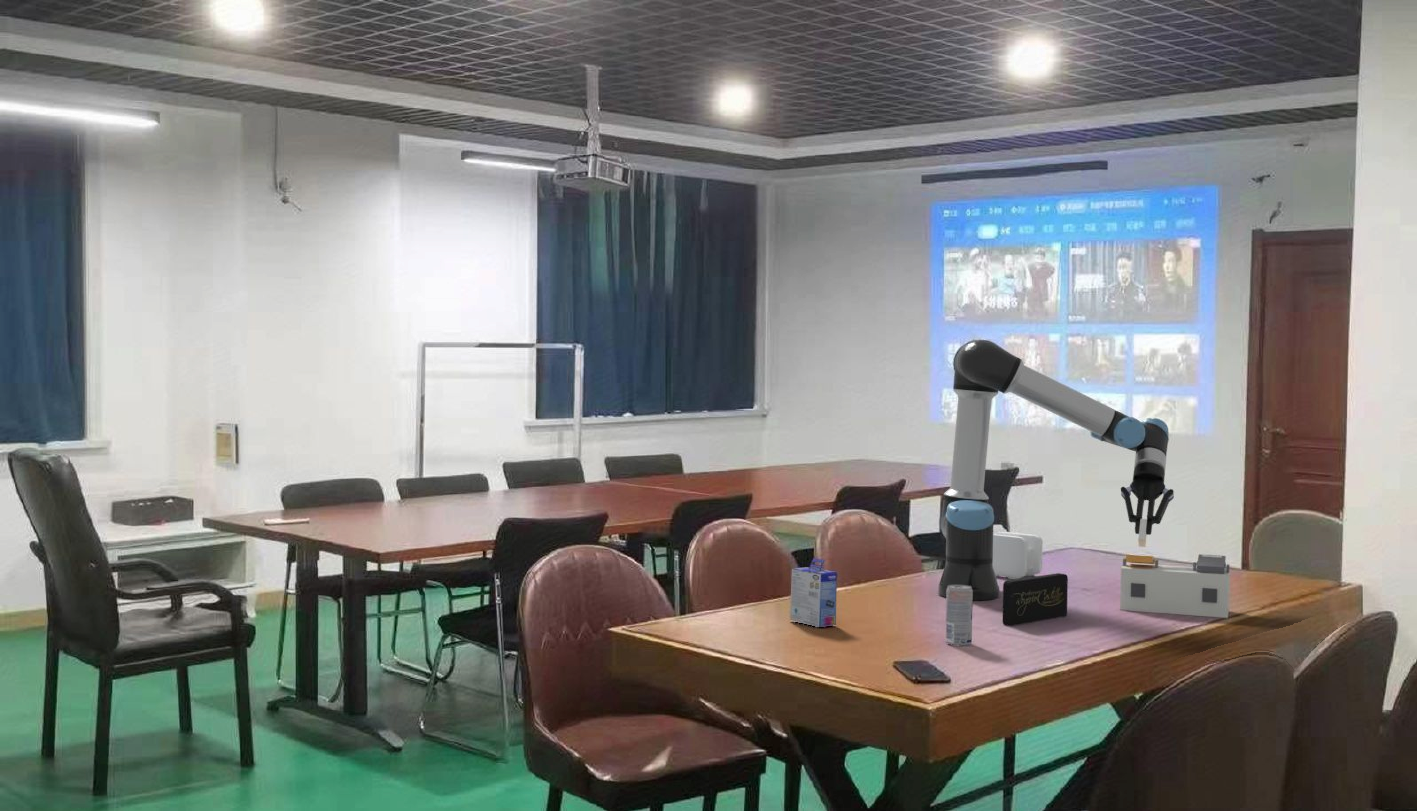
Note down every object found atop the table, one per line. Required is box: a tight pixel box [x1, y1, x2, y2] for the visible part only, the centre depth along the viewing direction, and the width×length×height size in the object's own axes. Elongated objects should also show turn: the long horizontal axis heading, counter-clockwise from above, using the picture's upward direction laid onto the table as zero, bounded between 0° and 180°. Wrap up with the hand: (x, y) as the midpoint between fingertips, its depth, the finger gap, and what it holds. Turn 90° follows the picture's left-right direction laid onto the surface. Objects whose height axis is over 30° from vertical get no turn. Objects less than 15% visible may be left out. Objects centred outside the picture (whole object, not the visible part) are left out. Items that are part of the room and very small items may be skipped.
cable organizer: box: [993, 531, 1044, 580], centre depth 376 cm, size 15×11×12 cm
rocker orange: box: [1125, 554, 1156, 565], centre depth 327 cm, size 8×6×2 cm
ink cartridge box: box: [789, 557, 838, 628], centre depth 302 cm, size 10×6×14 cm, turn 40°
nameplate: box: [1002, 572, 1069, 627], centre depth 310 cm, size 21×2×10 cm, turn 129°
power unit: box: [1119, 557, 1231, 619], centre depth 324 cm, size 10×24×12 cm, turn 67°
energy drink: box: [945, 585, 974, 647], centre depth 282 cm, size 5×5×12 cm
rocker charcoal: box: [1196, 553, 1227, 574], centre depth 321 cm, size 8×6×2 cm
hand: (1141, 543), depth 330 cm, fingers closed
